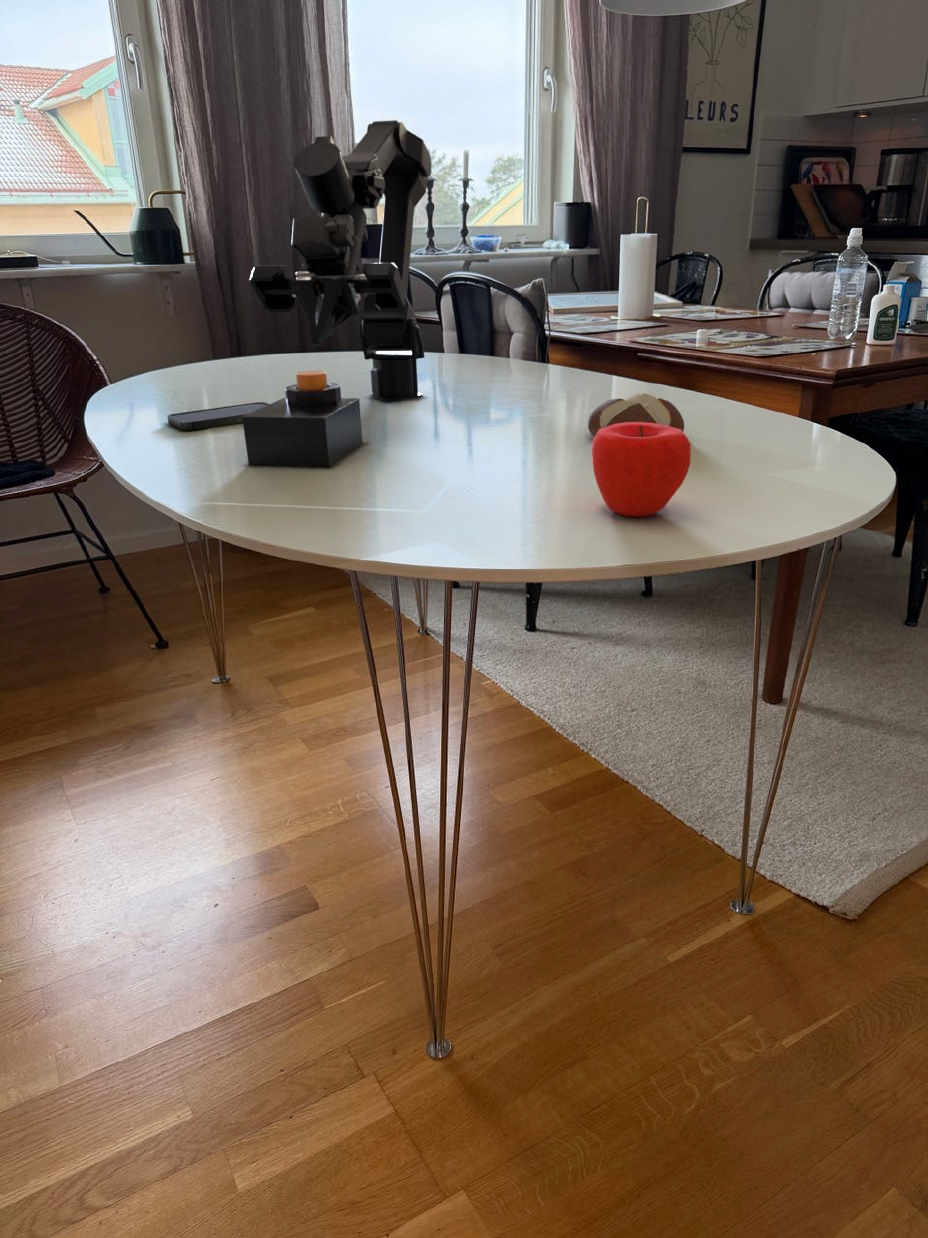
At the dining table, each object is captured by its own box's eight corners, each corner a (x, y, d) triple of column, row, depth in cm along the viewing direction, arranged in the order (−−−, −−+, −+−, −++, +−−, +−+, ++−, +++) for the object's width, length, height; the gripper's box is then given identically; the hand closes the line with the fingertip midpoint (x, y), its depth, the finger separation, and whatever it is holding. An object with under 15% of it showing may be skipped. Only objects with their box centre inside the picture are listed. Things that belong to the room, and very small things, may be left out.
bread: (647, 424, 114) (649, 386, 112) (697, 442, 104) (700, 400, 102) (572, 433, 110) (573, 393, 108) (616, 452, 101) (618, 409, 98)
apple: (706, 513, 78) (714, 428, 75) (632, 532, 74) (638, 442, 71) (640, 491, 85) (645, 412, 82) (570, 507, 81) (572, 424, 78)
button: (304, 387, 106) (302, 370, 105) (331, 387, 105) (330, 370, 104) (293, 392, 103) (291, 374, 102) (321, 392, 102) (319, 375, 101)
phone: (165, 414, 123) (262, 401, 131) (166, 422, 124) (263, 408, 131) (183, 423, 117) (284, 408, 125) (184, 431, 118) (285, 416, 125)
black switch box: (291, 441, 111) (284, 381, 108) (364, 442, 109) (360, 382, 106) (248, 465, 100) (239, 400, 96) (329, 468, 98) (323, 401, 94)
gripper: (245, 193, 104) (216, 297, 98) (393, 187, 100) (370, 294, 95) (279, 262, 114) (254, 359, 109) (414, 258, 110) (395, 359, 105)
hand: (315, 342), depth 104 cm, fingers closed
